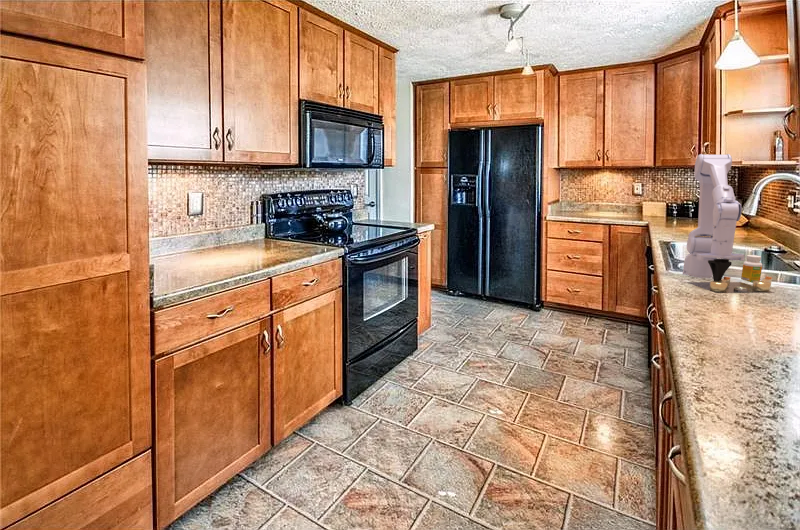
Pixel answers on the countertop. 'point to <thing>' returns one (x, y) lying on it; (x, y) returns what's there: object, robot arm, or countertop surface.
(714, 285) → the knob
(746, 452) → the countertop surface
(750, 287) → the grey metal plate
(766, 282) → the knob
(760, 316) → the countertop surface
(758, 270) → the supplement bottle
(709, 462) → the countertop surface
